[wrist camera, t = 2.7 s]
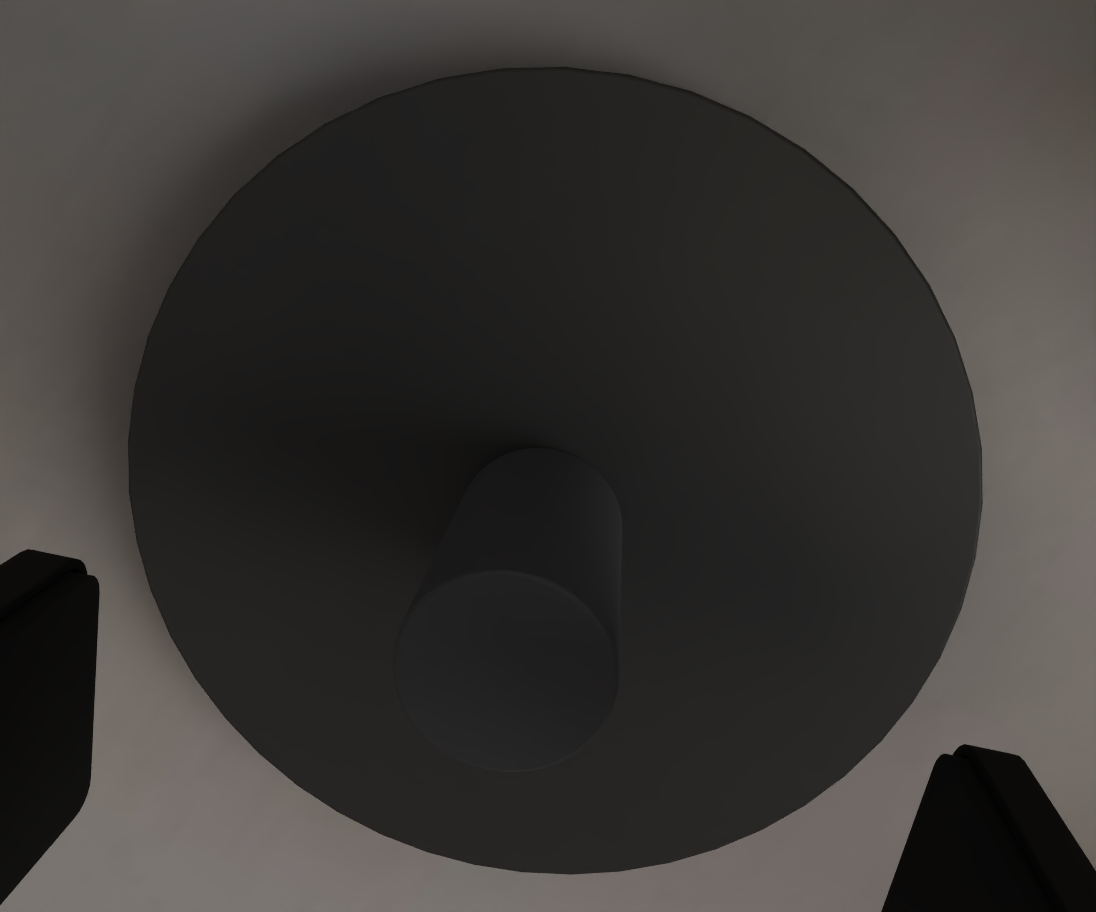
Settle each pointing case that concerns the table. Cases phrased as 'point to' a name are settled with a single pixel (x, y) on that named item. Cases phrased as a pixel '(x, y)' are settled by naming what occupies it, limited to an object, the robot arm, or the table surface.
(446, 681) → the lid
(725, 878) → the table surface
